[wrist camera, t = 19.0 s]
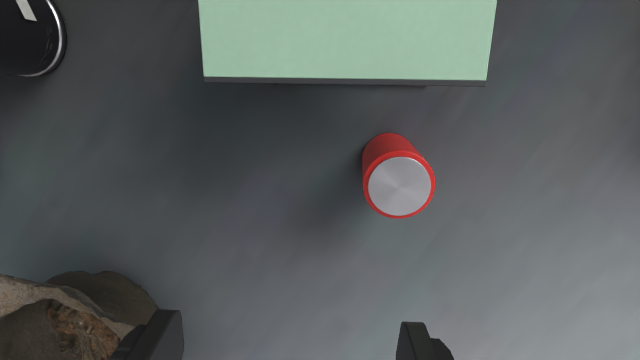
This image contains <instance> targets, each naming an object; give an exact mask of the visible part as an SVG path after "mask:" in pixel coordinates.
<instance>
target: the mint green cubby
mask: <svg viewBox="0 0 640 360" xmlns="http://www.w3.org/2000/svg"><path fill="white" fill-rule="evenodd" d="M198 3H199V17H200V31H201V45H202V59H203V74H204V82H217V83H253V84H276V83H285V84H349V85H413V86H477V87H485V84H486V81H485V80H486V76H487V69H488V61H489V54H490V47H491V40H492V32H493V25H494V18H495V11H496V3H497V0H198Z"/></svg>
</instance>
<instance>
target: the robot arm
mask: <svg viewBox="0 0 640 360" xmlns="http://www.w3.org/2000/svg"><path fill="white" fill-rule="evenodd" d="M65 48H66V29H65V25H64V21H63V18H62V16H61V13H60V11H59V9H58V8H57V6H56V4H55V3H54V2H53V0H0V74H3V75H20V76H42V75H45V74H48V73H50V72H51V71H53V70H54V69H55V68H56V67H57V66H58V65H59V63H60V62H61V60H62V58H63V56H64V53H65ZM183 351H184V338H183V328H182V318H181V312H180V311H179V310H156V311H155V313H154V314H153V316H152V317H151V319H150V320H149V322H148V323H147V325H144V324H139V325H138V326H136V327H135V328H134V329H133V330H131V331H130V332H129V333H128V334H126V335H125V336H124V338H123V339H122V341H121V342H120V344H119V345H118V346H117V348H116V351H114V352H113V354H112V355H111V356H110V358H109V359H108V360H181V359H182V356H183ZM396 360H454V358H453V356H452V354H451V352H450V350H449V349H448V348H447V347H446V346H445V345H444V343H443V342H442V341H441V340H440V339H434V338H430V336H429V334H428V331H427V329H426V326H425V324H424V323H423V322H402V323H401V327H400V333H399V339H398V345H397V351H396Z"/></svg>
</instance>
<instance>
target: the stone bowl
mask: <svg viewBox="0 0 640 360" xmlns="http://www.w3.org/2000/svg"><path fill="white" fill-rule="evenodd" d="M156 310H159V308H157V307H156V306H155V305H154V303H153V301H152V299H151V298H150V297H149V296H148V295H147V294H146V292H145V291H144V290H143V289H142V288H141V286H139V285H136V284H133V283H131V282H130V281H129V280H128V279H127V278H126V277H124V276H122V275H121V274H118V273H115V272H111V271H104V272H101V273H99V274H96V275H90V274H89V273H87V272H84V271H77V272H67V273H64V274H60V275H57V276H55V277H52V278H51V279H49V280H48V281H47V282H45V283H40V282H34V281H30V280H25V279H19V278H15V277H12V276H7V275H1V274H0V360H108V359H109V358H110V356H111V355H112V354H113V352H114V351H116V348H117V346H118V345H119V344H120V342H121V341H122V339H123V338H124V336H125V335H126V334H128V333H129V332H130V331H131V330H133V329H134V328H135V327H136V326H138V325H139V324H144V325H147V323H148V322H149V320H150V319H151V317H152V316H153V314H154V313H155V311H156Z"/></svg>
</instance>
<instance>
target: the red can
mask: <svg viewBox="0 0 640 360" xmlns="http://www.w3.org/2000/svg"><path fill="white" fill-rule="evenodd" d="M362 177H363V192H364V196H365V198H366V200H367V202H368V204H369V205H370V206H371V207H372V208H373V209H374V210H375V211H376V212H378V213H379V214H381V215H383V216H386V217H389V218H407V217H410V216H413V215H415V214H417V213H419V212H420V211H421V210H423V209H424V208H425V207H426V206H427V205H428V203H429V202H430V200H431V198H432V196H433V194H434V190H435V177H434V173H433V171H432V169H431V167H430V165H429V164H428V163H427V161H426V160H425V159H424V158H423V157H422V156H421V155H420V154H419V152H418V151H417V150H416V149H415V148H414V147H413V146H412V145H411V143H410V142H409V141H408V140H407V139H406V138H404V137H403V136H401V135H398V134H395V133H384V134H380V135H378V136H376V137H374V138H373V139H371V140H370V141H369V142H368V144H367V145H366V147H365V148H364V151H363V155H362Z"/></svg>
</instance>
